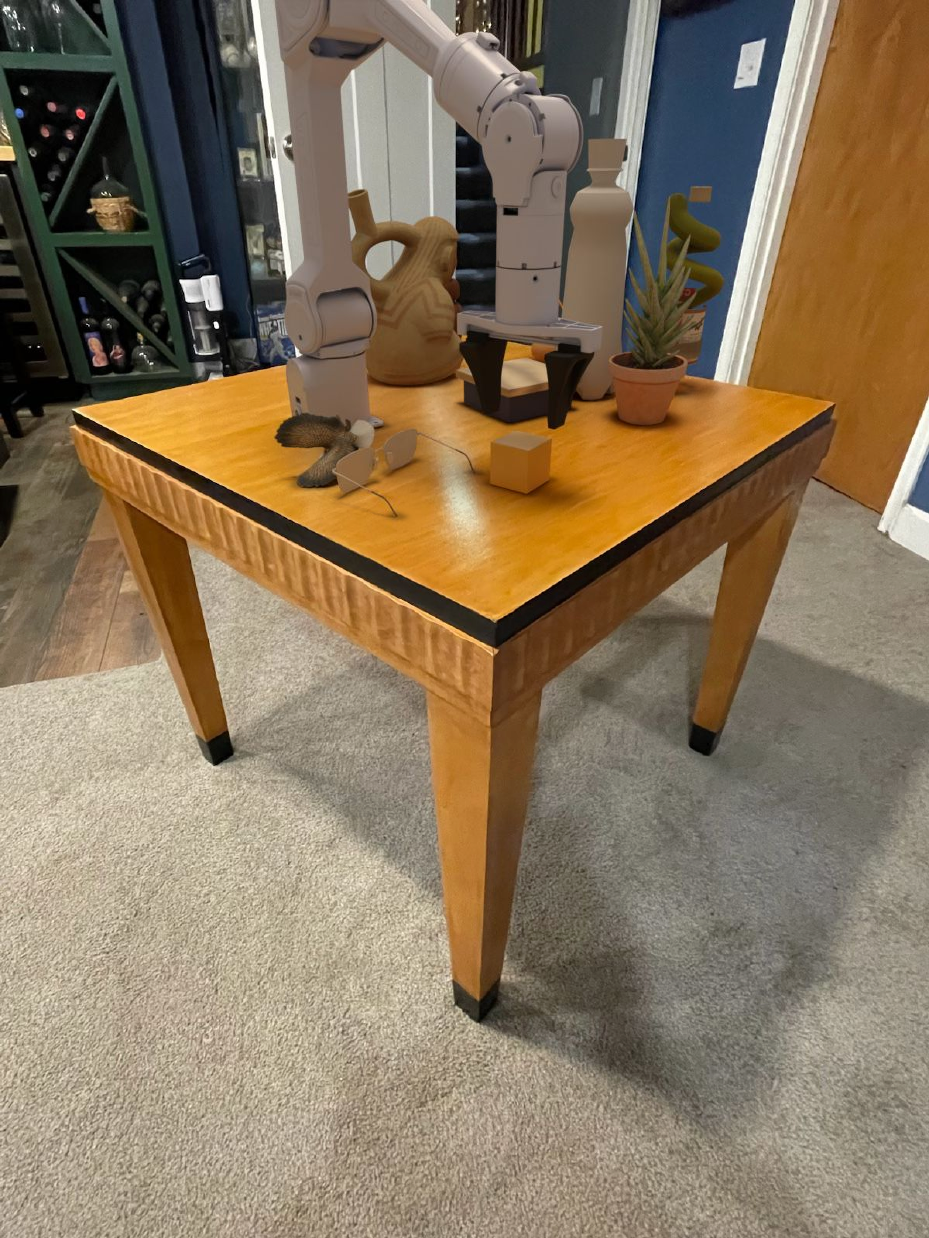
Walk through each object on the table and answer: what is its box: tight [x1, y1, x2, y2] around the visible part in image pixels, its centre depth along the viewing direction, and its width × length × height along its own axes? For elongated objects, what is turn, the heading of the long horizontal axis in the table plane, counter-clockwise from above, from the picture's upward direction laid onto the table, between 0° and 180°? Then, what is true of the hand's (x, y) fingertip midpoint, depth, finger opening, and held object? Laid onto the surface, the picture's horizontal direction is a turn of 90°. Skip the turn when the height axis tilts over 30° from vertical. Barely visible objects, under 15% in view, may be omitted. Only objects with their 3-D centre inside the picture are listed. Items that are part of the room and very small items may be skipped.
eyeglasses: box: [332, 428, 476, 517], centre depth 70 cm, size 14×8×4 cm, turn 145°
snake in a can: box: [665, 186, 725, 366], centre depth 94 cm, size 12×10×25 cm
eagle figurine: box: [273, 413, 376, 488], centre depth 73 cm, size 8×7×9 cm
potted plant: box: [609, 195, 696, 426], centre depth 82 cm, size 10×10×25 cm
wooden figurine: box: [444, 277, 463, 339], centre depth 120 cm, size 7×6×15 cm
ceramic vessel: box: [348, 188, 465, 386], centre depth 101 cm, size 17×20×25 cm
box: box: [455, 357, 582, 424], centre depth 92 cm, size 12×12×4 cm
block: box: [489, 430, 553, 495], centre depth 70 cm, size 4×4×4 cm
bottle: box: [555, 138, 635, 401], centre depth 91 cm, size 9×9×30 cm
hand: (522, 419), depth 68 cm, fingers open, 7 cm apart
